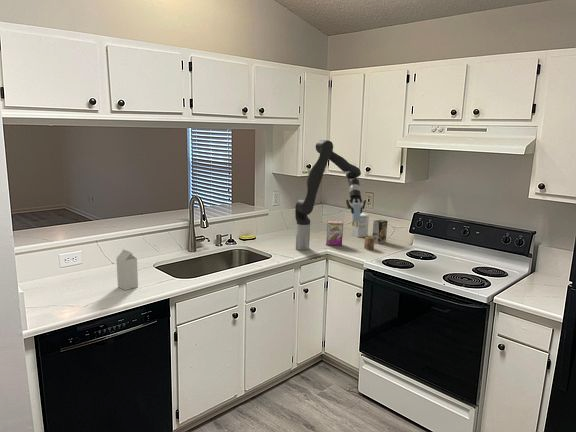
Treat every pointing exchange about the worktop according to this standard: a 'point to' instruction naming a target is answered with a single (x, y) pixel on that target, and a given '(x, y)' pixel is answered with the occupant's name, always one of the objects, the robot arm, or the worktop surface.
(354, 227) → the supplement box
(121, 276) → the milk carton
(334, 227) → the candy bar box
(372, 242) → the walnut block
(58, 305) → the worktop surface
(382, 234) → the coffee box
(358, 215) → the slate-blue block
